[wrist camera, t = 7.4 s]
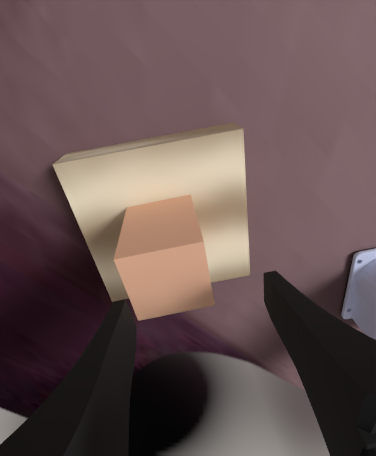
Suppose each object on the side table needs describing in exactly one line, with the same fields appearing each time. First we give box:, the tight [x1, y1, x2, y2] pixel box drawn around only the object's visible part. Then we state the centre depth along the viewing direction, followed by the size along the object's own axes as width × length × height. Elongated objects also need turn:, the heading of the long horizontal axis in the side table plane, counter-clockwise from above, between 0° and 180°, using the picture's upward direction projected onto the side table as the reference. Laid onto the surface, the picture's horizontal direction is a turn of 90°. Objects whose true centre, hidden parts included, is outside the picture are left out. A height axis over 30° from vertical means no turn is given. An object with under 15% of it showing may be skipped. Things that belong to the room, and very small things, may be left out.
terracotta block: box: [114, 194, 215, 321], centre depth 16 cm, size 4×4×6 cm
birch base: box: [52, 123, 250, 301], centre depth 20 cm, size 12×12×3 cm
